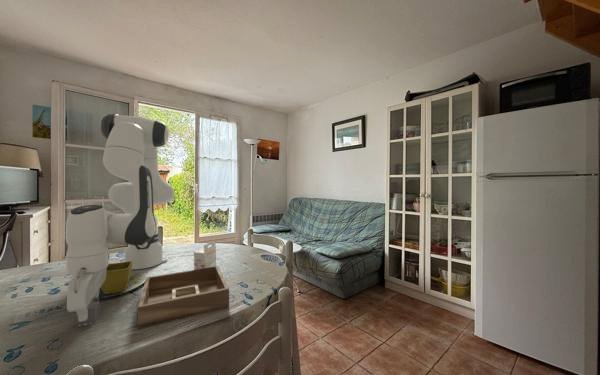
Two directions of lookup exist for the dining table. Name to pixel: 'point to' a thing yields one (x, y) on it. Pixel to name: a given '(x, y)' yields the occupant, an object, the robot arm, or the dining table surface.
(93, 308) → the plain grey cube
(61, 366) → the dining table surface
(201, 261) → the ink cartridge box
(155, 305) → the walled box
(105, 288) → the flower pot
